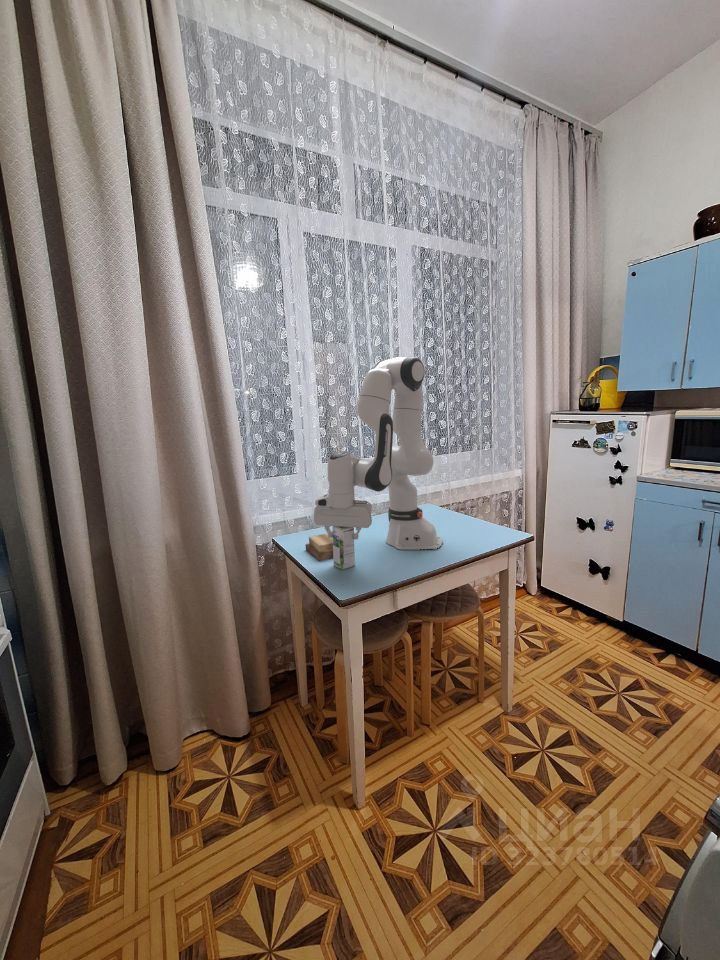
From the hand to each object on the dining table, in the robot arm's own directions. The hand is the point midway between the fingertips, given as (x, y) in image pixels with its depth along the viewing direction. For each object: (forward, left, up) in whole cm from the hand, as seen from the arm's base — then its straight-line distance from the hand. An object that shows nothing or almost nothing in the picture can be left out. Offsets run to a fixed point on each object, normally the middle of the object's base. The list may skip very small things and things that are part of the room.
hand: (343, 538), depth 136 cm
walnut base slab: (+10, -11, -11) cm, 18 cm away
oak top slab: (+10, -11, -8) cm, 17 cm away
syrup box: (0, 0, -10) cm, 10 cm away
